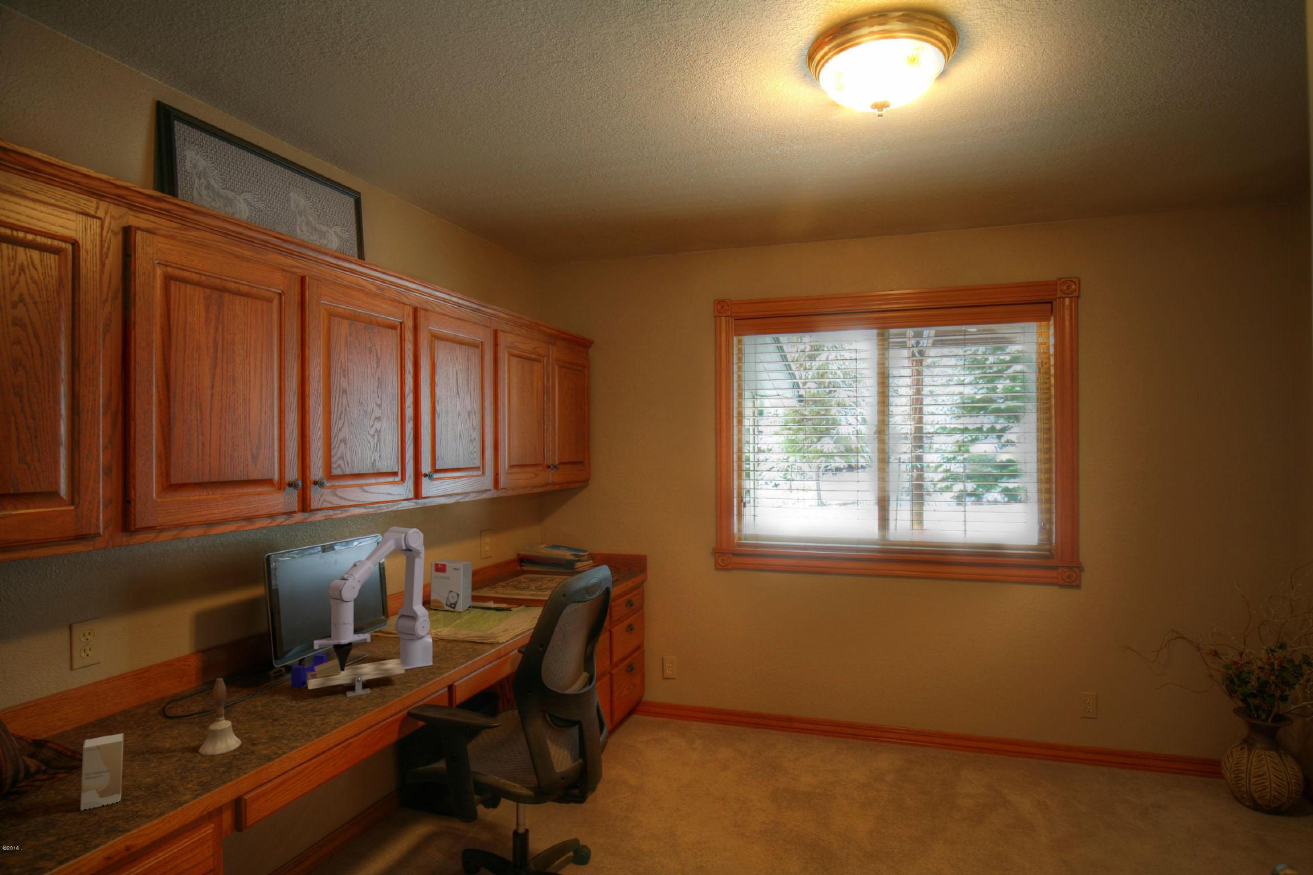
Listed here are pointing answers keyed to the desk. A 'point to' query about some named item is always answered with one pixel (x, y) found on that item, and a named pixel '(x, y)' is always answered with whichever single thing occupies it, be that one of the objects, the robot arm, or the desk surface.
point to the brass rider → (328, 669)
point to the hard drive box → (451, 584)
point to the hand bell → (219, 726)
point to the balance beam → (358, 673)
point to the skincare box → (102, 771)
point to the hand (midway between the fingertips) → (342, 670)
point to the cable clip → (305, 671)
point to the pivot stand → (357, 687)
